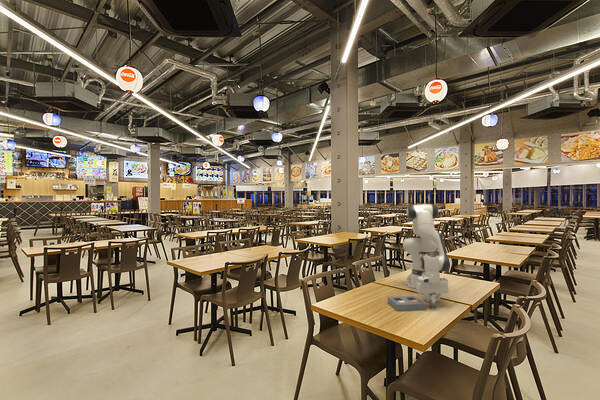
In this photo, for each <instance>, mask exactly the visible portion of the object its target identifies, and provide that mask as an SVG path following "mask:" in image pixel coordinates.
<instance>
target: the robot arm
mask: <svg viewBox="0 0 600 400" xmlns="http://www.w3.org/2000/svg"><path fill="white" fill-rule="evenodd" d="M405 213H406V216H407V217H408V218H409V219H411V220H412V232H413V234H415V236H418V237H408V238H405V239H404V240H403V241H402V248H403V249H404V251H406V253H408V254H409V256H410V257H411V262H412V268H411V273H409V275H408V276H407V277H406V280H405V281H404V283H405V285H406V286H407V287H408V288H412V289H413V288H414V289H415V291H416V292H417V293H418V294H419V295H423V294H424V296H425V301H426V302H428V300H429V298H428V297H427V296H426V295H427V294H432V293H438V296H437V297H436V299H437V300H439V301H440V300H441V296H442V294H448V293H449V290H450V289H449V285H448V284H449V283H448V282H449V281H448V279H447V278H445V277H442V278H441V277H440V272H444V273H445V272H447V271H449V269H451V261H450V259H449V256H448V254H447V251H446V247H445V244H444V240H443V238H442V236H441V233H440V232H439V231H437V230H436V228H435V223H434V221H435V220H434V219H436V218H437V217H438V216H439V214H440V213H439V208H438V205H436V204H431V203H430V204H427V203H426V204H425V203H422V204H411V205H408V206H407V208H406V212H405ZM436 251H437V252H438V254H439V255H438V254H437V253H435V252H436ZM420 253H425V255H421V254H420Z"/></svg>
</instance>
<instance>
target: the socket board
mask: <svg viewBox="0 0 600 400" xmlns="http://www.w3.org/2000/svg"><path fill="white" fill-rule="evenodd" d="M387 303H388V304H389V305H390V306H391V307H393V309H395V311H397V312H413V311H426V309H427V308H426V305H427V304H426V303H425V302H424V301H422V300H421V299H419V298H418V297H416V296H415V295H398V296H397V295H392V296H387Z"/></svg>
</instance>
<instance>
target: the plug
mask: <svg viewBox="0 0 600 400" xmlns="http://www.w3.org/2000/svg"><path fill="white" fill-rule="evenodd" d="M436 304H437V301H436V293H432V294H430V302H429V308H430V309H436V306H437V305H436Z"/></svg>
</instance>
